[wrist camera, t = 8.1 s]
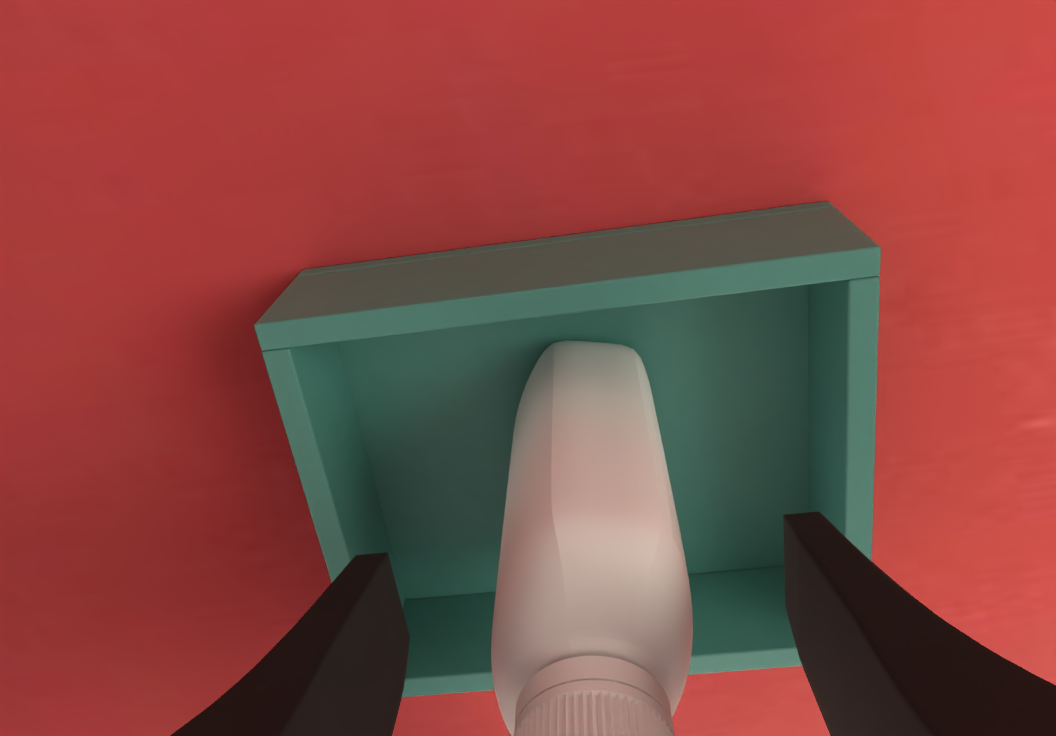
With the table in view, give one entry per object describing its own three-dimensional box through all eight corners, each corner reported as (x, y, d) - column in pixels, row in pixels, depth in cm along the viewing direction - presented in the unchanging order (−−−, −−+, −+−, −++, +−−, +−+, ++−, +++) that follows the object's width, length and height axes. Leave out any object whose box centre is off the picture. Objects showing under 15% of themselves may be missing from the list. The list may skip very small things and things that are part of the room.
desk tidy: (828, 566, 23) (869, 661, 20) (392, 605, 24) (366, 701, 21) (828, 200, 19) (881, 246, 16) (301, 269, 20) (252, 324, 17)
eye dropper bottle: (722, 397, 20) (901, 878, 10) (590, 553, 23) (613, 1091, 12) (572, 303, 20) (583, 716, 9) (449, 474, 22) (335, 977, 11)
